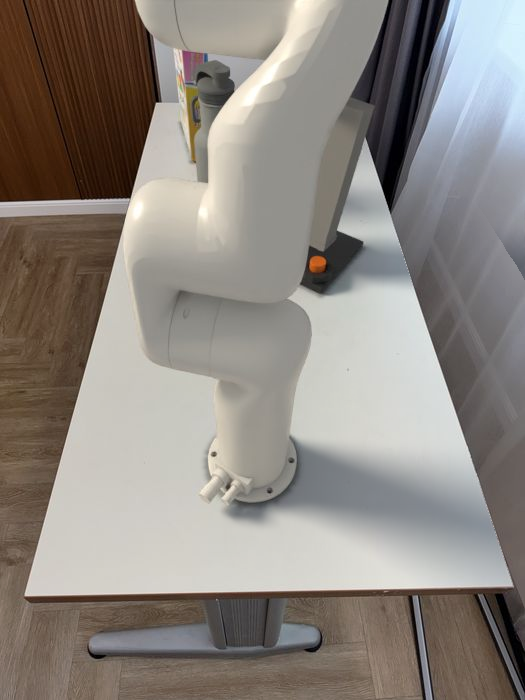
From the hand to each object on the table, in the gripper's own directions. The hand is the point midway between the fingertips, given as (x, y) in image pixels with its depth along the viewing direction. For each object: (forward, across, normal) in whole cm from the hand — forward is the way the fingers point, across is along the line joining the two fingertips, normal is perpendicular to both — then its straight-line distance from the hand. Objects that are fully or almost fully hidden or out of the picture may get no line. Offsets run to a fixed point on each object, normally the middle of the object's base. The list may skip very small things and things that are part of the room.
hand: (326, 122), depth 84 cm
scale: (+26, -3, -1) cm, 26 cm away
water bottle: (+26, +2, +25) cm, 36 cm away
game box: (+26, +19, +46) cm, 56 cm away
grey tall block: (+20, -5, +1) cm, 21 cm away
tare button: (+23, -8, -6) cm, 25 cm away
